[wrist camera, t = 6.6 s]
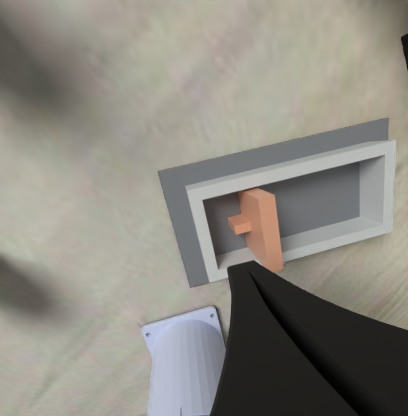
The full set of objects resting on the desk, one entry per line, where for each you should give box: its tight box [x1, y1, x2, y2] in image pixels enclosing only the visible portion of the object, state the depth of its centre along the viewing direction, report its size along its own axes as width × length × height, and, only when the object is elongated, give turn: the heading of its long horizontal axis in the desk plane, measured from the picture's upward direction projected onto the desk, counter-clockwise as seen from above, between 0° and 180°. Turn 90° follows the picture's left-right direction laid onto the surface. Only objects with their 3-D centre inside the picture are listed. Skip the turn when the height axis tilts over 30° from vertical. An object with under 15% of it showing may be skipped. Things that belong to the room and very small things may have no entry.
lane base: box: [158, 118, 396, 288], centre depth 19 cm, size 12×22×3 cm, turn 102°
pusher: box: [227, 187, 284, 272], centre depth 17 cm, size 6×3×5 cm, turn 12°
